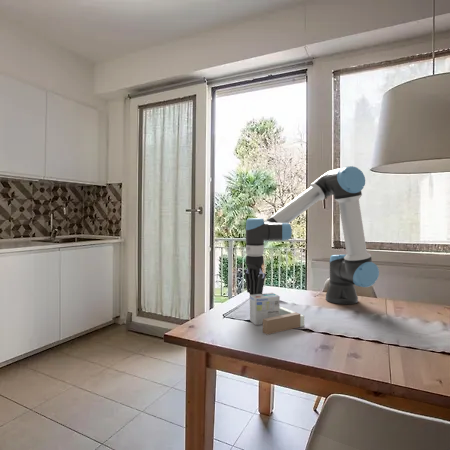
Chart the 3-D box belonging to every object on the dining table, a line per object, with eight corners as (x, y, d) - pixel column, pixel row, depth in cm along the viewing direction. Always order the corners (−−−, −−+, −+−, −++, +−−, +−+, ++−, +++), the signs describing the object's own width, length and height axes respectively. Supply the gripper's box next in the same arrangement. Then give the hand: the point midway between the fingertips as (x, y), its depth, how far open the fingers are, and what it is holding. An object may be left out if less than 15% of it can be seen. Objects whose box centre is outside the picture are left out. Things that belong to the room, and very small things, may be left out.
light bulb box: (272, 317, 137) (272, 292, 137) (280, 322, 130) (280, 296, 130) (248, 320, 134) (249, 294, 133) (255, 325, 127) (255, 298, 127)
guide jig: (266, 309, 148) (266, 298, 148) (304, 325, 127) (304, 313, 127) (232, 316, 139) (232, 304, 139) (266, 334, 118) (267, 320, 118)
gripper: (238, 253, 141) (238, 308, 142) (256, 257, 130) (256, 316, 131) (252, 252, 145) (252, 305, 146) (271, 256, 134) (271, 313, 135)
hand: (254, 310), depth 139 cm, fingers closed
